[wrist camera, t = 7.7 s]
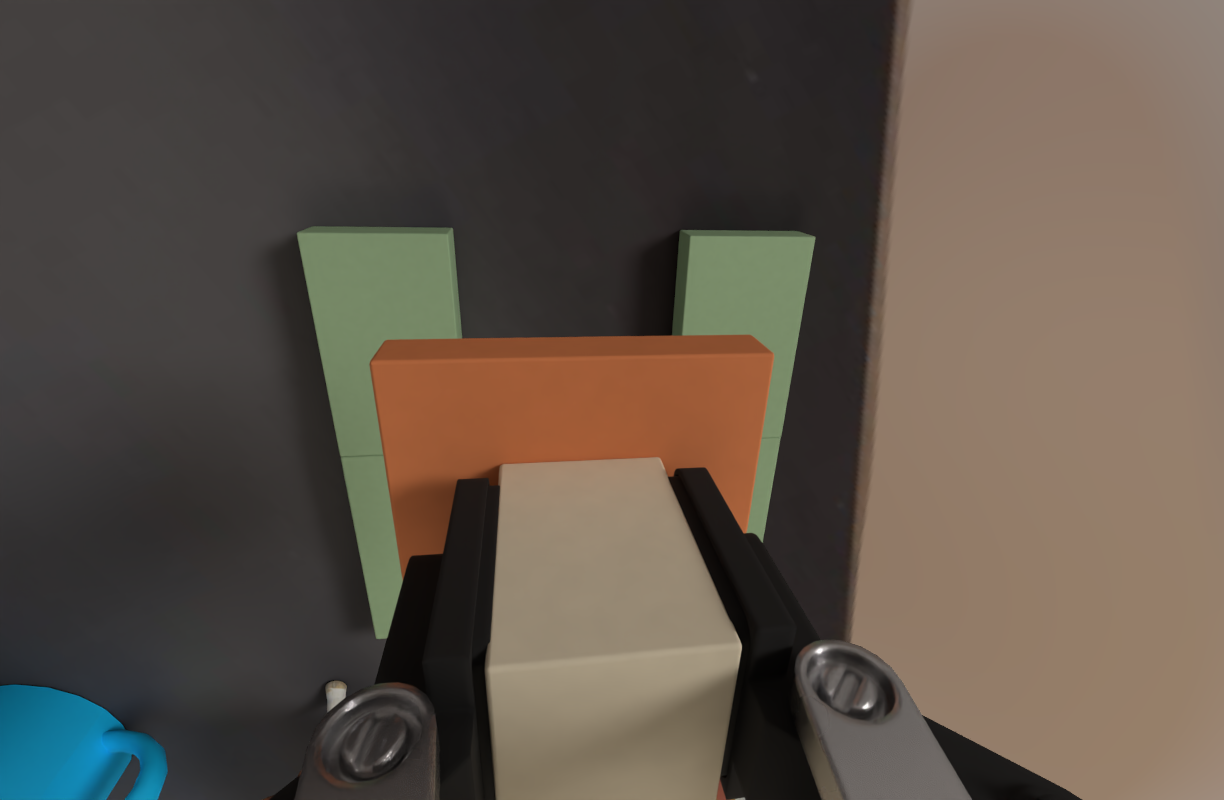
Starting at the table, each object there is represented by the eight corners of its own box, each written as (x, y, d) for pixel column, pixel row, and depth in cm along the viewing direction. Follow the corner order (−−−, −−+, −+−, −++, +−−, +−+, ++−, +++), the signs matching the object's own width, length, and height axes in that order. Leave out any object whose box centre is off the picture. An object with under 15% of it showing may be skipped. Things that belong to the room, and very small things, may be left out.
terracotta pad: (752, 333, 11) (946, 492, 6) (714, 602, 14) (825, 865, 9) (383, 338, 10) (244, 533, 5) (424, 627, 13) (360, 939, 8)
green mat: (798, 231, 22) (816, 236, 21) (741, 585, 30) (752, 606, 28) (311, 226, 20) (295, 232, 18) (382, 615, 27) (375, 640, 26)
